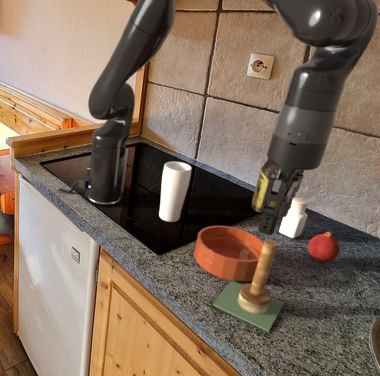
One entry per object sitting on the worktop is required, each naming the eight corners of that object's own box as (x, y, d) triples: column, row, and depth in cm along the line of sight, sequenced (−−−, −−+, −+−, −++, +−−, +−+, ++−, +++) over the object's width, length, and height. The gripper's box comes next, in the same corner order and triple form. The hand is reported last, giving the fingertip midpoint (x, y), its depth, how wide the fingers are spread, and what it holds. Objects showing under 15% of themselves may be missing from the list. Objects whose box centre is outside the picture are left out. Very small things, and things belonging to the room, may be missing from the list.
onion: (307, 251, 95) (318, 222, 92) (336, 262, 91) (348, 232, 88) (300, 261, 91) (311, 231, 88) (329, 273, 88) (342, 241, 84)
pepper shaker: (286, 228, 105) (296, 195, 101) (301, 235, 102) (313, 201, 98) (277, 232, 103) (287, 199, 99) (293, 239, 100) (304, 205, 96)
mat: (212, 305, 77) (212, 303, 77) (231, 281, 84) (231, 279, 84) (268, 332, 71) (269, 330, 71) (283, 304, 78) (284, 302, 78)
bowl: (182, 263, 89) (187, 242, 87) (208, 239, 99) (212, 219, 97) (250, 293, 81) (256, 270, 79) (270, 262, 91) (277, 241, 88)
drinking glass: (179, 213, 111) (188, 162, 105) (184, 225, 105) (194, 172, 98) (154, 211, 111) (162, 160, 105) (157, 223, 105) (166, 170, 99)
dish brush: (233, 304, 77) (251, 242, 71) (243, 291, 81) (260, 231, 75) (262, 318, 74) (283, 254, 68) (271, 304, 77) (291, 242, 71)
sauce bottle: (252, 202, 118) (270, 137, 109) (276, 209, 114) (296, 142, 106) (248, 211, 113) (266, 143, 104) (272, 218, 110) (293, 148, 101)
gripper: (286, 120, 70) (262, 203, 77) (261, 138, 61) (236, 231, 68) (336, 130, 66) (306, 217, 73) (318, 151, 56) (285, 249, 63)
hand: (272, 223), depth 70 cm, fingers open, 8 cm apart
